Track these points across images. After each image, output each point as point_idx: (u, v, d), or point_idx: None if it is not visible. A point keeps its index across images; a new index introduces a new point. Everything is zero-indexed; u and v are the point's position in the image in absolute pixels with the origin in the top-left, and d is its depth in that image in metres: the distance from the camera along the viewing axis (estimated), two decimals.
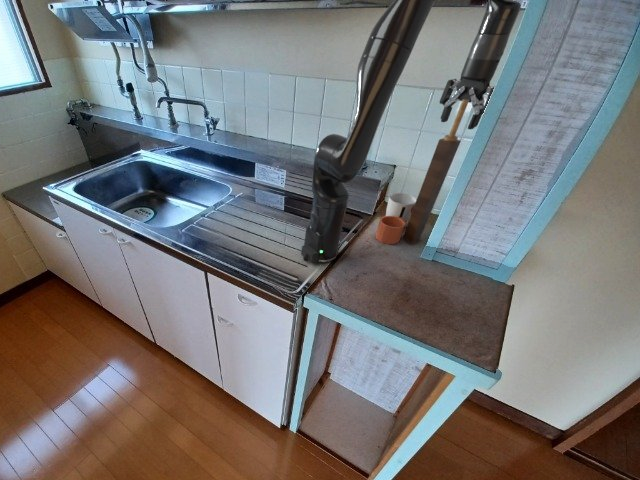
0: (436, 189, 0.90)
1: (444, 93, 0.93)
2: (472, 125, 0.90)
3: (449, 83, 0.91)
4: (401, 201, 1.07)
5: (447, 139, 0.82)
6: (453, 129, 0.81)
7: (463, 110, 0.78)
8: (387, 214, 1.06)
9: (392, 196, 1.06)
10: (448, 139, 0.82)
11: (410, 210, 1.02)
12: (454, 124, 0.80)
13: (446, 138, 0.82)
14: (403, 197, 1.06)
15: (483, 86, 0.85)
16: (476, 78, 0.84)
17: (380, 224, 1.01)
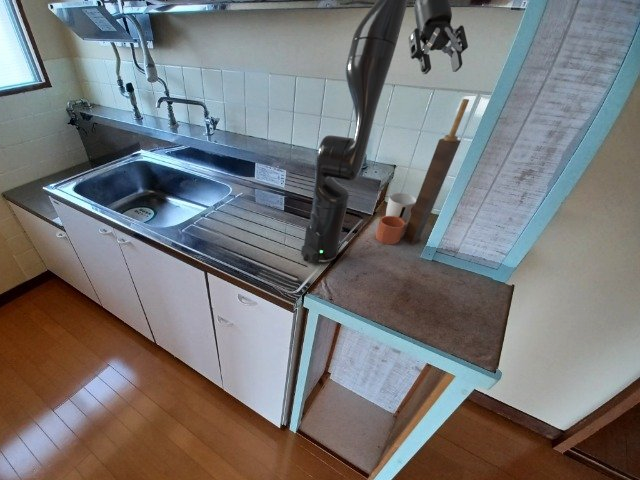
0: (436, 189, 0.90)
1: (417, 41, 0.80)
2: (461, 62, 0.82)
3: (418, 31, 0.80)
4: (401, 201, 1.07)
5: (447, 139, 0.82)
6: (453, 129, 0.81)
7: (463, 110, 0.78)
8: (387, 214, 1.06)
9: (392, 196, 1.06)
10: (448, 139, 0.82)
11: (410, 210, 1.02)
12: (454, 124, 0.80)
13: (446, 138, 0.82)
14: (403, 197, 1.06)
15: (451, 27, 0.81)
16: (451, 13, 0.79)
17: (380, 224, 1.01)
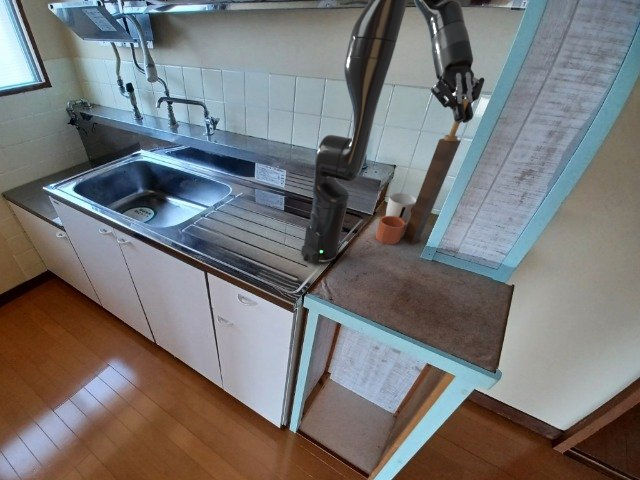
0: (436, 189, 0.90)
1: (447, 92, 0.76)
2: (471, 114, 0.77)
3: (441, 83, 0.76)
4: (401, 201, 1.07)
5: (447, 139, 0.82)
6: (453, 129, 0.81)
7: None
8: (387, 214, 1.06)
9: (392, 196, 1.06)
10: (448, 139, 0.82)
11: (410, 210, 1.02)
12: (454, 124, 0.80)
13: (446, 138, 0.82)
14: (403, 197, 1.06)
15: (473, 73, 0.78)
16: (472, 58, 0.75)
17: (380, 224, 1.01)
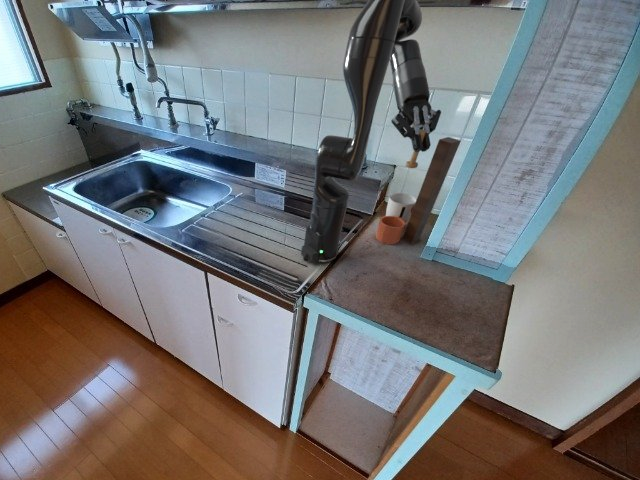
0: (436, 189, 0.90)
1: (405, 124, 0.82)
2: (429, 144, 0.83)
3: (400, 115, 0.82)
4: (401, 201, 1.07)
5: (408, 165, 0.88)
6: (413, 157, 0.87)
7: None
8: (387, 214, 1.06)
9: (392, 196, 1.06)
10: (409, 166, 0.88)
11: (410, 210, 1.02)
12: (414, 152, 0.86)
13: (407, 164, 0.88)
14: (403, 197, 1.06)
15: (430, 105, 0.83)
16: (428, 93, 0.81)
17: (380, 224, 1.01)
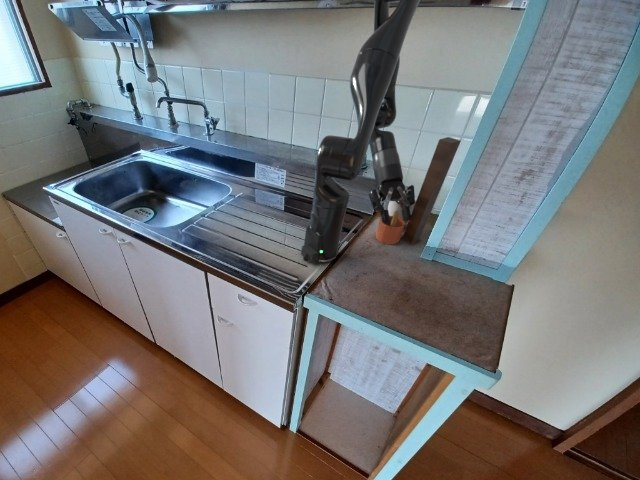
0: (436, 189, 0.90)
1: (377, 200, 0.96)
2: (409, 216, 0.98)
3: (375, 191, 0.96)
4: None
5: None
6: None
7: (395, 219, 0.98)
8: (390, 213, 1.06)
9: None
10: None
11: (413, 207, 1.02)
12: None
13: None
14: None
15: (403, 185, 0.98)
16: (401, 176, 0.95)
17: (380, 224, 1.01)
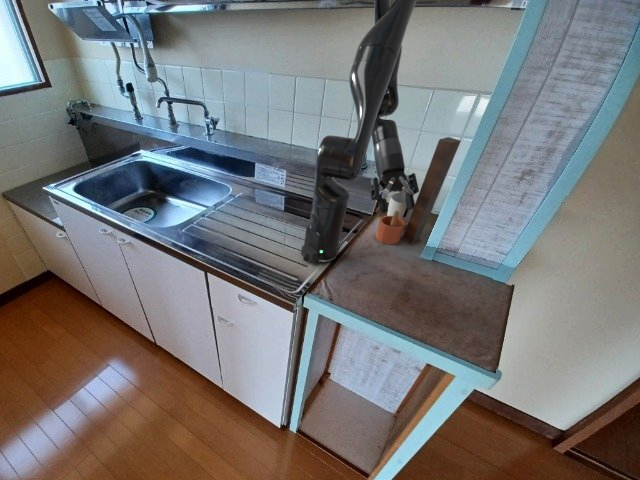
0: (436, 189, 0.90)
1: (376, 188, 0.95)
2: (413, 204, 0.97)
3: (376, 179, 0.95)
4: (400, 200, 1.07)
5: None
6: None
7: (395, 219, 0.98)
8: (390, 215, 1.06)
9: (392, 196, 1.05)
10: None
11: None
12: None
13: None
14: (402, 197, 1.06)
15: (404, 174, 0.96)
16: (403, 166, 0.94)
17: (380, 224, 1.01)
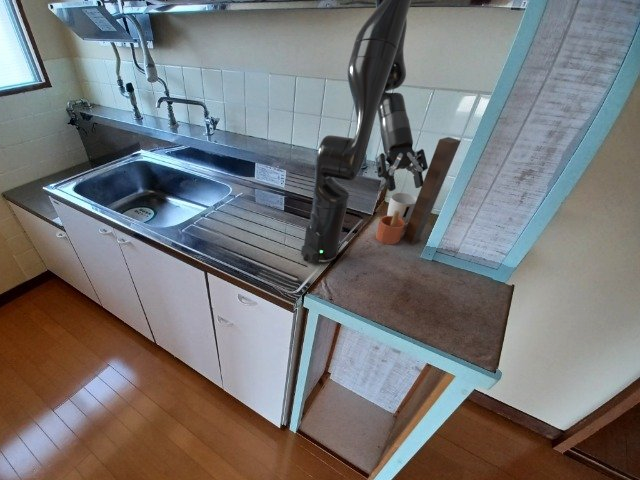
0: (436, 189, 0.90)
1: (383, 164, 0.90)
2: (422, 181, 0.92)
3: (383, 155, 0.90)
4: (400, 200, 1.07)
5: None
6: None
7: (395, 219, 0.98)
8: (390, 215, 1.06)
9: (392, 196, 1.05)
10: None
11: None
12: None
13: None
14: (402, 197, 1.06)
15: None
16: (412, 141, 0.90)
17: (380, 224, 1.01)
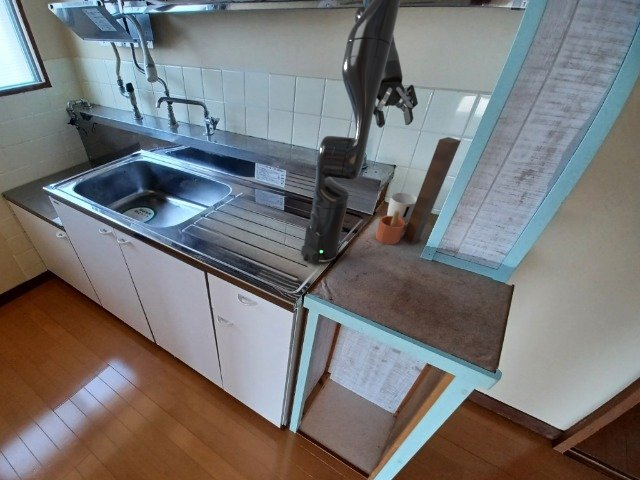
0: (436, 189, 0.90)
1: None
2: (412, 117, 0.91)
3: None
4: (400, 200, 1.07)
5: None
6: None
7: (395, 219, 0.98)
8: (390, 215, 1.06)
9: (392, 196, 1.05)
10: None
11: None
12: None
13: None
14: (402, 197, 1.06)
15: (402, 86, 0.91)
16: (401, 75, 0.89)
17: (380, 224, 1.01)
